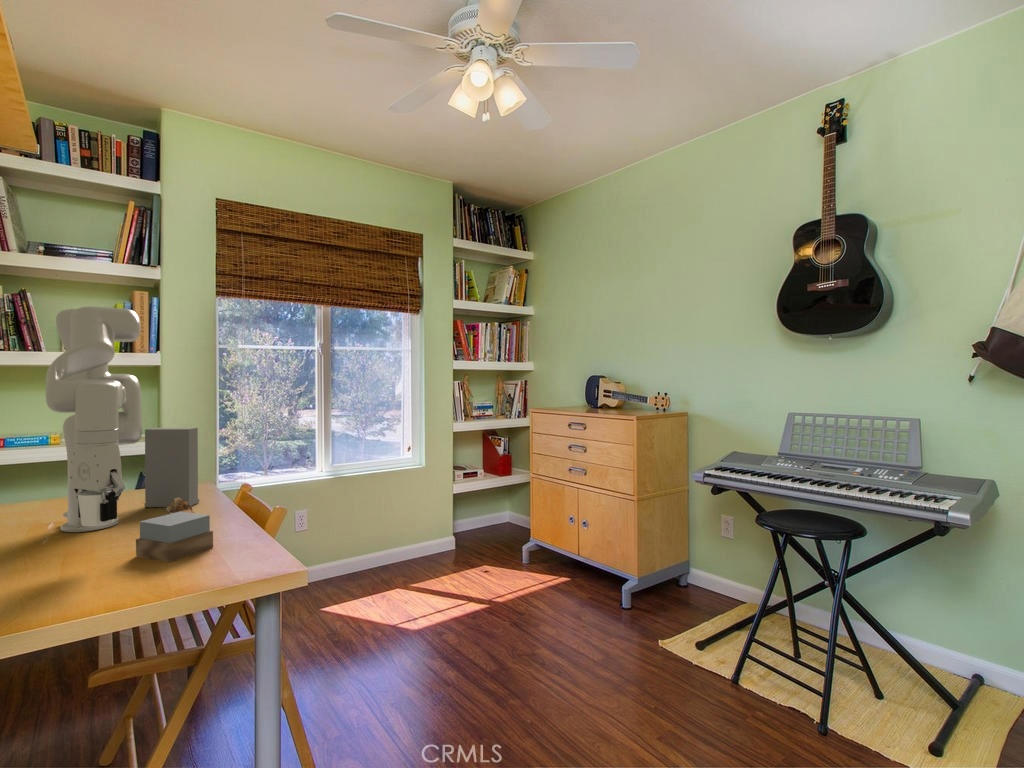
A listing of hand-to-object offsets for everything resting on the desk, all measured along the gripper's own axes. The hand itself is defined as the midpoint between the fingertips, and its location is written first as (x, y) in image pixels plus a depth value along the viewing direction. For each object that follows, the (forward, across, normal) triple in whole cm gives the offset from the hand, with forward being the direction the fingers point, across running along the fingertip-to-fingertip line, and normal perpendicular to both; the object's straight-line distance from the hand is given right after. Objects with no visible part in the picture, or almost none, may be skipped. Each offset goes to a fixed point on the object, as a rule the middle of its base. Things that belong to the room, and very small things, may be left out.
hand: (97, 517), depth 117 cm
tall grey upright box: (+12, -34, +45) cm, 58 cm away
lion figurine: (+11, -2, +23) cm, 25 cm away
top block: (+6, +9, +12) cm, 16 cm away
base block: (+11, +9, +12) cm, 18 cm away
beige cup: (+1, 0, 0) cm, 1 cm away
